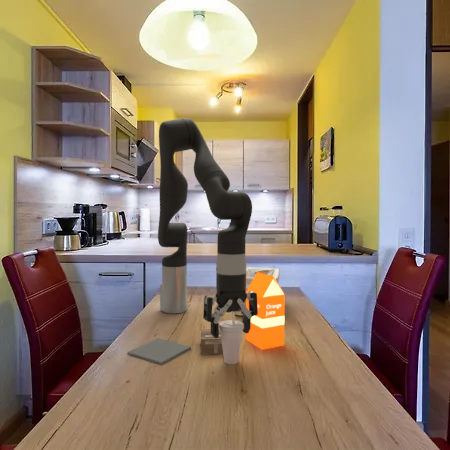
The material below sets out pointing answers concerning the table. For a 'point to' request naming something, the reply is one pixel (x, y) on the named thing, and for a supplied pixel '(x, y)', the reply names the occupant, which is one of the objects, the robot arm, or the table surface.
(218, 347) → the lettered block
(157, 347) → the slate pad
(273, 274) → the storage basket
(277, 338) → the orange juice
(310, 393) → the table surface
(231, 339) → the smoothie
